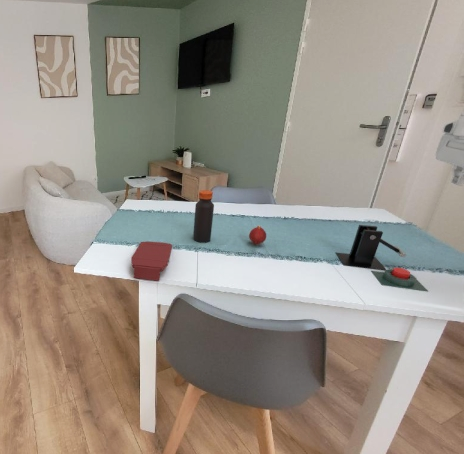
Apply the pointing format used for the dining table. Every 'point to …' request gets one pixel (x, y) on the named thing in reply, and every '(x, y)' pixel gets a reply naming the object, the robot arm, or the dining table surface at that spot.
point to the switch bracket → (364, 249)
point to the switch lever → (390, 246)
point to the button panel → (398, 281)
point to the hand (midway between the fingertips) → (458, 184)
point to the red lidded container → (150, 259)
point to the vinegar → (203, 217)
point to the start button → (400, 273)
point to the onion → (257, 235)
